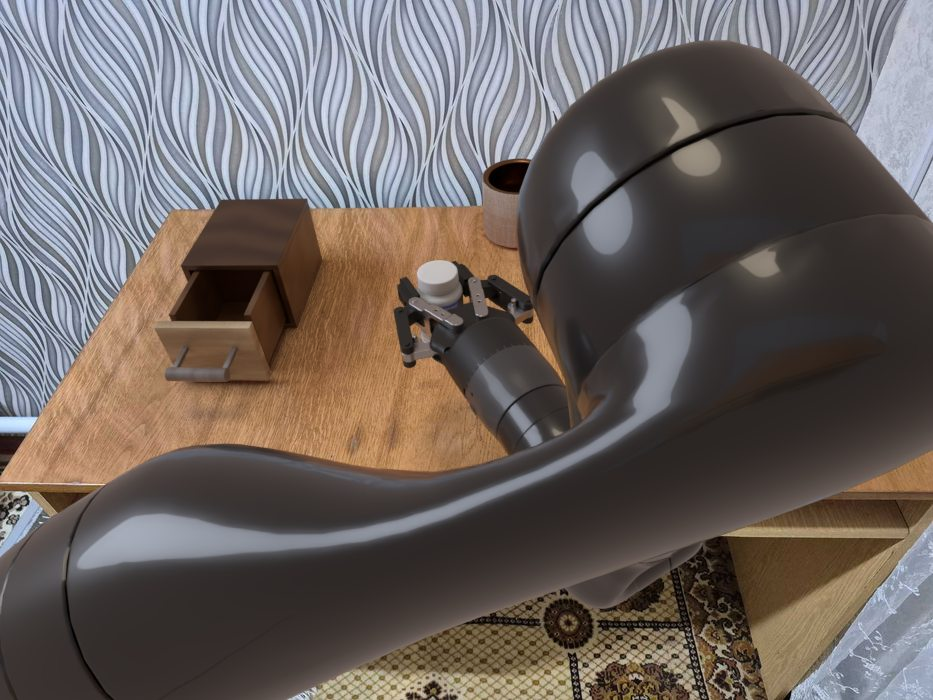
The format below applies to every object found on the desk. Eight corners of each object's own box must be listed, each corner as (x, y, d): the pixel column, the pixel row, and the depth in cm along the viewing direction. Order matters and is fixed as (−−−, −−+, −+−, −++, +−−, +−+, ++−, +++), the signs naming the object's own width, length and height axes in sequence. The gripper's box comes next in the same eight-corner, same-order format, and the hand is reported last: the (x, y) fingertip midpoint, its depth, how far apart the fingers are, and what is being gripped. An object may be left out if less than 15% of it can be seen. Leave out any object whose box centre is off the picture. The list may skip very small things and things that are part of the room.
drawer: (257, 411, 78) (235, 359, 72) (164, 410, 79) (135, 358, 73) (298, 304, 92) (282, 252, 86) (219, 304, 93) (198, 253, 87)
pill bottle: (450, 356, 67) (443, 292, 62) (412, 341, 69) (403, 277, 64) (474, 329, 70) (470, 265, 64) (437, 315, 72) (430, 252, 66)
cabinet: (297, 328, 90) (277, 265, 82) (207, 327, 91) (180, 265, 83) (322, 259, 101) (307, 198, 93) (242, 259, 102) (221, 199, 94)
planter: (542, 256, 98) (544, 200, 92) (473, 244, 101) (470, 189, 95) (560, 217, 105) (563, 162, 99) (496, 207, 108) (494, 153, 102)
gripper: (582, 321, 56) (488, 225, 67) (426, 381, 52) (355, 267, 63) (576, 382, 61) (491, 283, 72) (435, 441, 57) (367, 326, 68)
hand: (428, 276), depth 67 cm, fingers closed on pill bottle, 4 cm apart
